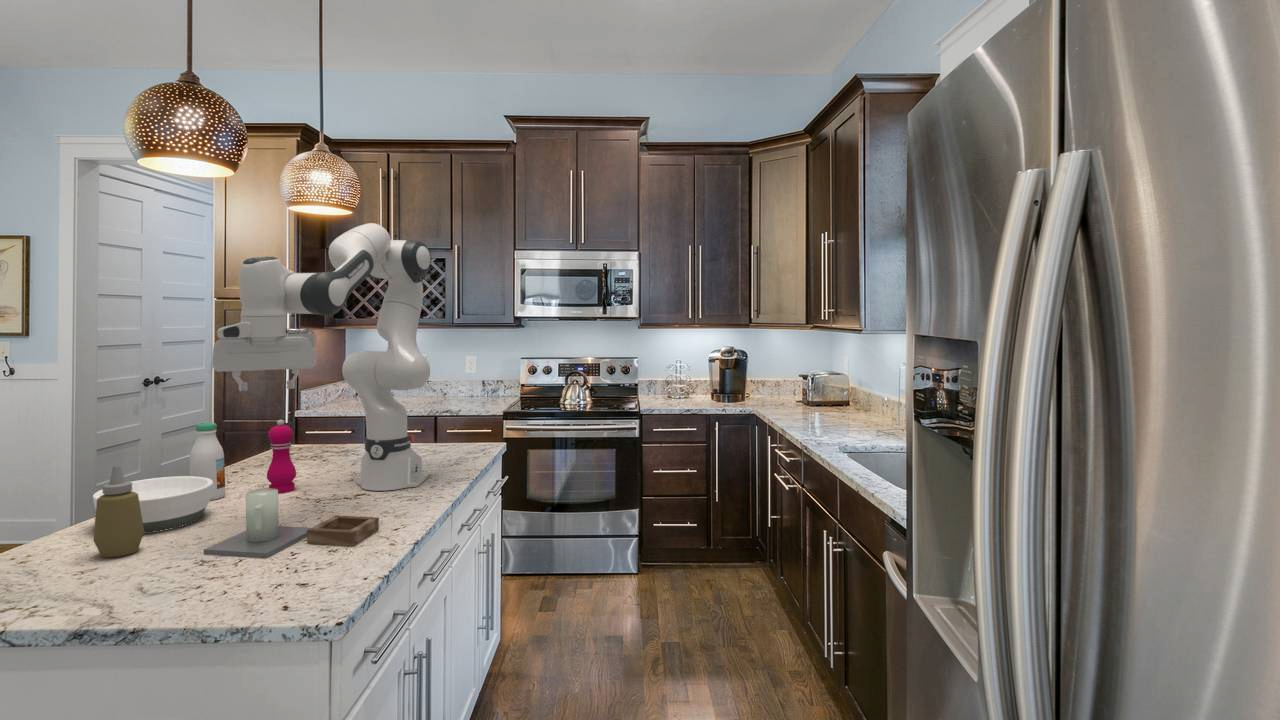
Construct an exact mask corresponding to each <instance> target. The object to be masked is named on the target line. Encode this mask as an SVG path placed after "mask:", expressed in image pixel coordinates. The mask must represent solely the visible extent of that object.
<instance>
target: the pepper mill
mask: <svg viewBox="0 0 1280 720" xmlns="http://www.w3.org/2000/svg"><path fill="white" fill-rule="evenodd" d="M293 436H294V432H293V429H292V428H291V427H290V426H289V425H285V422H284V419H279V420H277V421H276V425H275V426H273V427H271V428H270V429H269V431H268V435H267V437H268V439H269V441H271V443H270V449H271V450H272V458H271V462H270V464H269V467H268V469H267V471H266V480H267V481H268V482H269V483H270V484H269V485H268V488H272V489H277V490H278V494H284V493H289V492H293V491H294V490H295V489H296V487H295V482H293V481H294V480H295V479H296V477H297V469H296V468H295V467H296V466H295V465H294V463H293V461H292V459H291V455H290V453H291V452H290V450H291V449H290V448H291V447H292V442H291V440H292V438H293Z"/></svg>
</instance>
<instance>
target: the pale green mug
mask: <svg viewBox="0 0 1280 720" xmlns="http://www.w3.org/2000/svg"><path fill="white" fill-rule="evenodd" d="M279 516H280V515H279V493H278V490H277V489H272V488H269V487H268V488H259V489H252V490H250V491H246V492H245V528H246V530H245V531H246V533H247V541H248V542H265V541H270V540H273V539H276V538H277V537H279V526H280V525H279V524H280V523H279Z"/></svg>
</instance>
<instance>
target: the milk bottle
mask: <svg viewBox="0 0 1280 720" xmlns="http://www.w3.org/2000/svg"><path fill="white" fill-rule="evenodd" d="M217 426H218V425H217V423H215V422H203V423H197V424H196V425H195V433H196V439H195V442H194V444H193V445H192V448H191V451H190V453H189V476H195V477H204V478H209V479H211V480H212V481H213V488H212V495H211V498H210V500H209V501H215V500H218V499H219V500H220V499H222V498H224V497H225V495H226V471H225V470H226V469H225V467H226V466H225V453H224V449H223V446H222V445H221V444H220V443H221V442H220V441H219V440H218V438H217V433H216V432H217V430H218V429H217Z"/></svg>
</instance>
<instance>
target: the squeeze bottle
mask: <svg viewBox="0 0 1280 720" xmlns="http://www.w3.org/2000/svg"><path fill="white" fill-rule="evenodd" d="M121 466H122V465H114V466H112V468H111V469H112V470H111V475H110V478H109V482H108V483H106V484H103V485H102V489H103V494H105V495H102V496H100V497H99V498H98V499H97V506H96V510H95V518H94V528H93V529H94V530H93V543H94V544H95V547H96V548H97V550H98V552H99V554H100V556H101V557H103V558H118V557H124V556H128V555H131V554H133V553H136V552H138V550H139V548H140V545H141V542H142V539H143V536H144V534H145V533H144V527H143V521H142V515H141V509H140V503H139V497H138V494H137V493H135V492H133V491H132V481H126V479H125V476H124V473H123V470H122V467H121Z"/></svg>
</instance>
